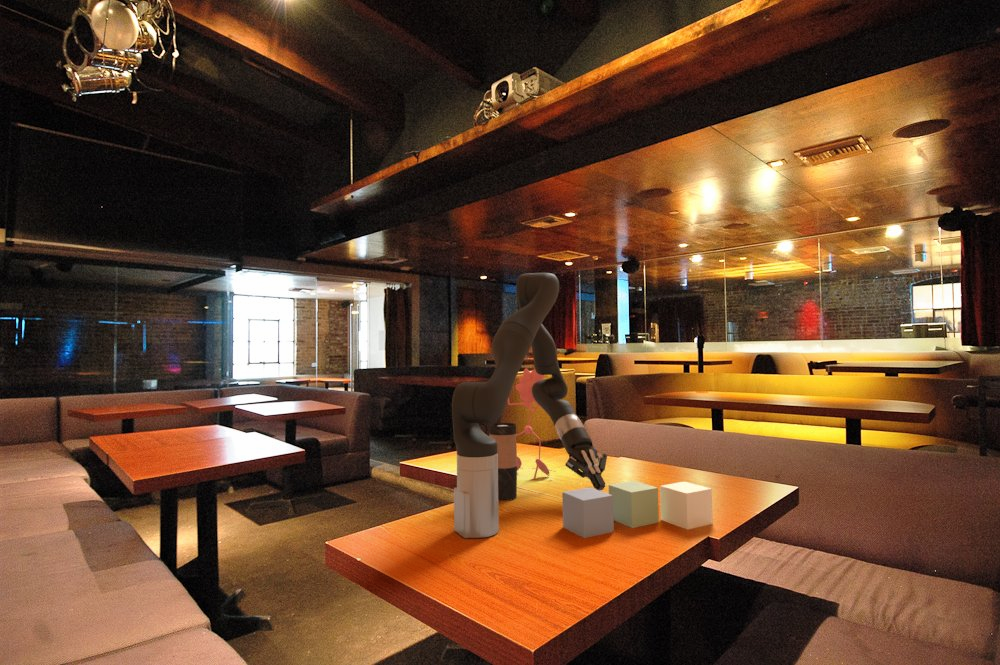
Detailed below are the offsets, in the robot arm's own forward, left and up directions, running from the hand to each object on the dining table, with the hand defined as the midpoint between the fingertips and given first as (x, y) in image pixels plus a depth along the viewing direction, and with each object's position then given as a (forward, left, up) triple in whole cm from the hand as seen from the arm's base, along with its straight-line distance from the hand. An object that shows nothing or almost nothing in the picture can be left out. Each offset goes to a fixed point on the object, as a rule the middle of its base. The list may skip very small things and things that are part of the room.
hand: (601, 488), depth 131 cm
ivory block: (+10, -19, -5) cm, 22 cm away
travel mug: (-17, +21, -5) cm, 28 cm away
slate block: (-13, -12, -5) cm, 18 cm away
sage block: (0, -12, -5) cm, 13 cm away
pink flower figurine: (+5, +41, -5) cm, 42 cm away
